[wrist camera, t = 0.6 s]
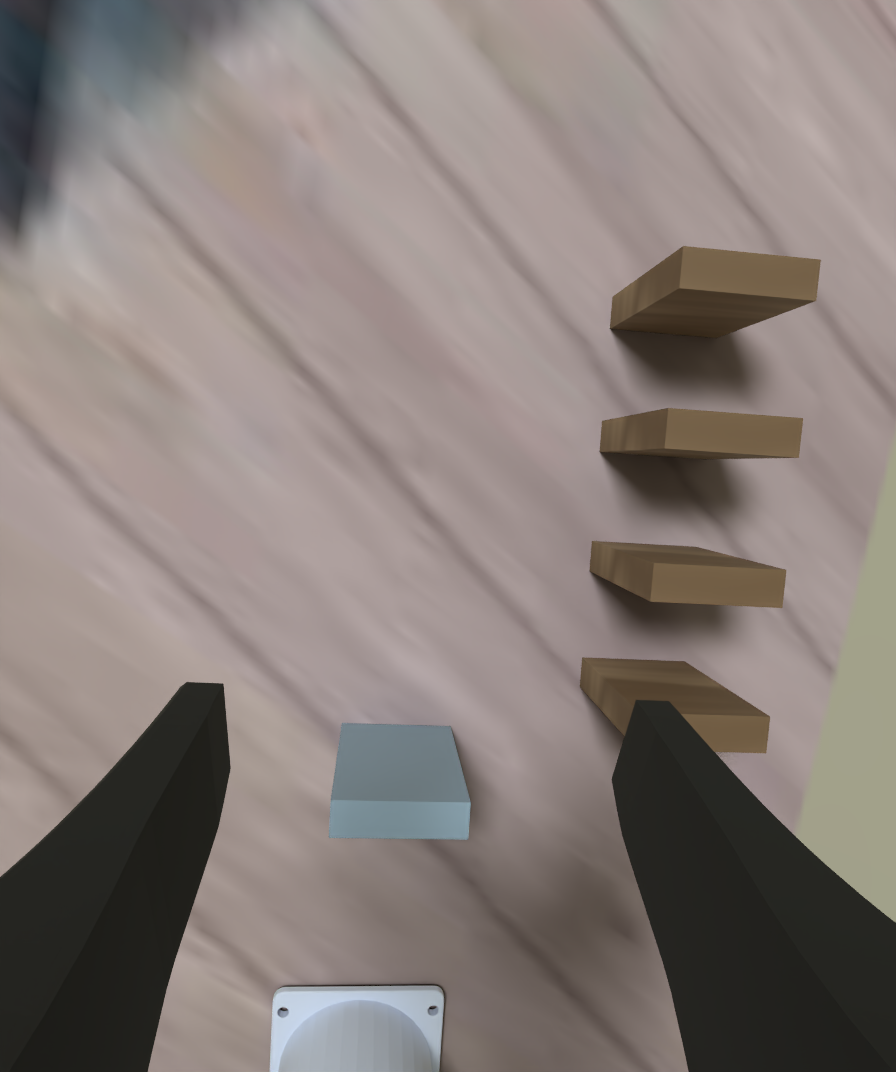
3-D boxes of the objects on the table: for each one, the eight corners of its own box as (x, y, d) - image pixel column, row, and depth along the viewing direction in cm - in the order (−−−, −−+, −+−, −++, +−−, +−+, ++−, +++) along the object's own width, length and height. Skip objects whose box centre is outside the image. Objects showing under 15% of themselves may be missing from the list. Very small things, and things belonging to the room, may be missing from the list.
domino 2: (716, 337, 32) (816, 300, 25) (610, 328, 32) (679, 287, 25) (719, 306, 32) (820, 259, 25) (612, 296, 32) (683, 246, 24)
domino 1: (448, 755, 33) (468, 839, 26) (340, 752, 33) (328, 837, 25) (450, 726, 33) (470, 802, 26) (341, 723, 33) (330, 800, 25)
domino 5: (681, 690, 34) (766, 753, 27) (579, 686, 34) (636, 749, 26) (684, 661, 34) (770, 716, 26) (582, 657, 33) (639, 712, 26)
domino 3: (704, 459, 33) (798, 457, 26) (599, 451, 32) (664, 448, 25) (707, 428, 33) (803, 418, 25) (602, 421, 32) (668, 407, 25)
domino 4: (693, 576, 34) (782, 607, 26) (589, 571, 33) (650, 601, 26) (695, 546, 33) (786, 570, 26) (592, 541, 33) (654, 562, 25)
